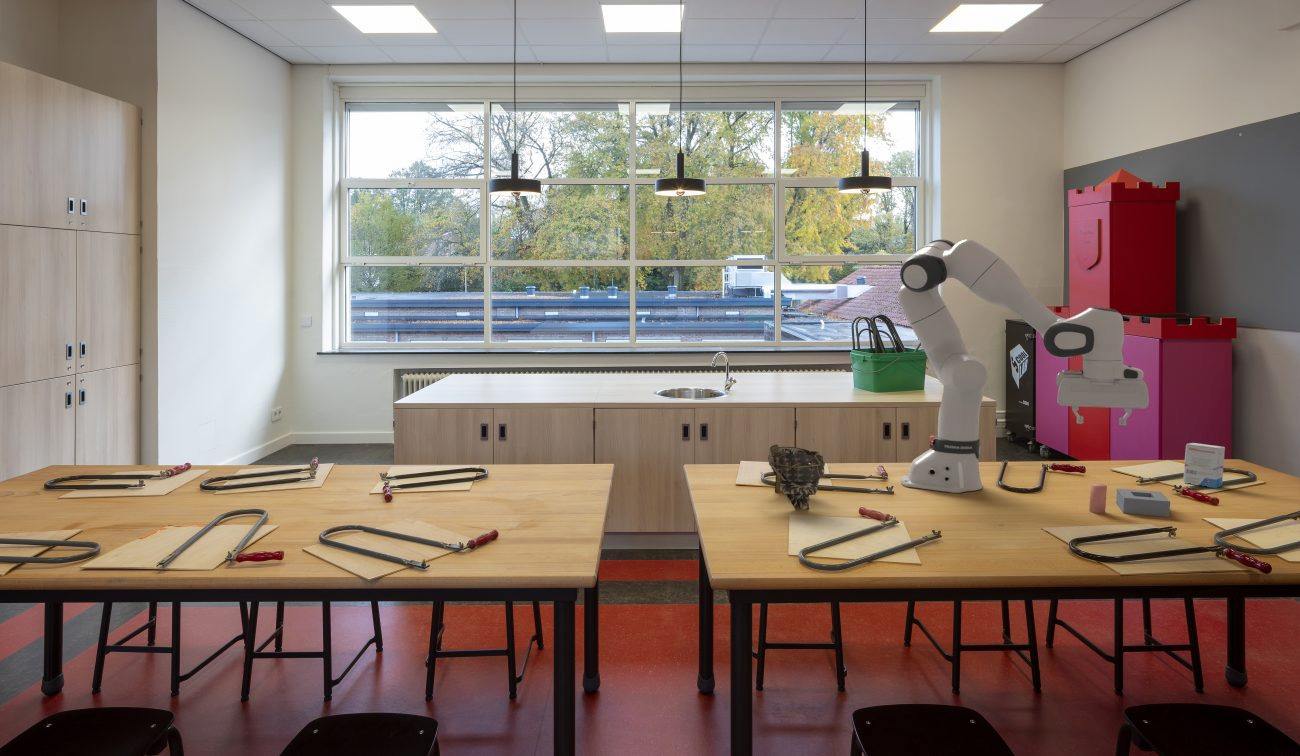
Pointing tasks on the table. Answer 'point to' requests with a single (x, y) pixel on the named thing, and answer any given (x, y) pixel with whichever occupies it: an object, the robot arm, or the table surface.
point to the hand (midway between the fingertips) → (1101, 424)
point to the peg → (1098, 498)
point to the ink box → (1204, 465)
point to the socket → (1143, 502)
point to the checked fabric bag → (796, 473)
